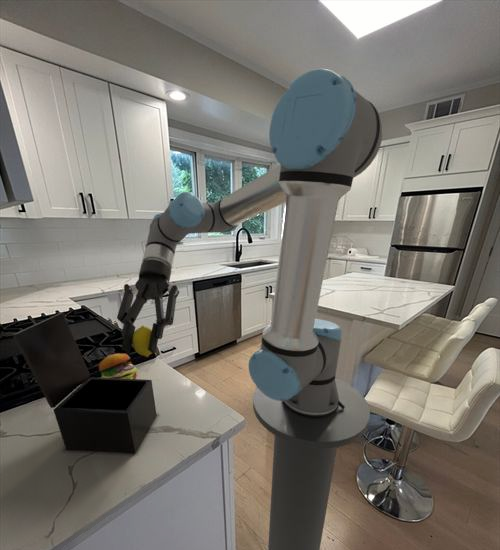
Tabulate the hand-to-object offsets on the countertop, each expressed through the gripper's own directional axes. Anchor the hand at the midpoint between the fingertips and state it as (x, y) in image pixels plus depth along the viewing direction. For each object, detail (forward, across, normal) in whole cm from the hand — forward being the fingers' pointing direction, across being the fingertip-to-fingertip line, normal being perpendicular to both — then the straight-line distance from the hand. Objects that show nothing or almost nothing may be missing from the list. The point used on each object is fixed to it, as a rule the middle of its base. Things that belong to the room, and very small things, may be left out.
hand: (138, 350), depth 63 cm
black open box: (+17, +6, -10) cm, 21 cm away
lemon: (0, 0, -5) cm, 5 cm away
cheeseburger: (+2, +16, -25) cm, 30 cm away
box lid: (+4, +15, +4) cm, 16 cm away
